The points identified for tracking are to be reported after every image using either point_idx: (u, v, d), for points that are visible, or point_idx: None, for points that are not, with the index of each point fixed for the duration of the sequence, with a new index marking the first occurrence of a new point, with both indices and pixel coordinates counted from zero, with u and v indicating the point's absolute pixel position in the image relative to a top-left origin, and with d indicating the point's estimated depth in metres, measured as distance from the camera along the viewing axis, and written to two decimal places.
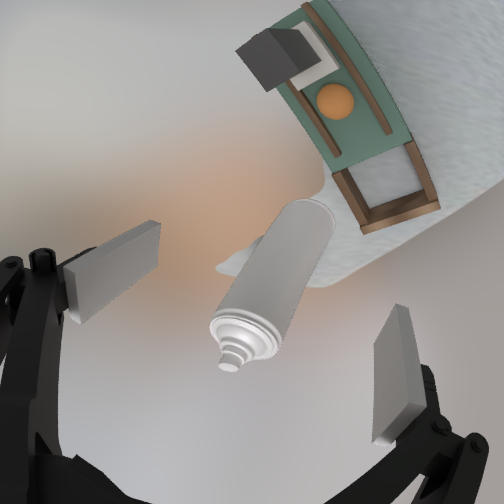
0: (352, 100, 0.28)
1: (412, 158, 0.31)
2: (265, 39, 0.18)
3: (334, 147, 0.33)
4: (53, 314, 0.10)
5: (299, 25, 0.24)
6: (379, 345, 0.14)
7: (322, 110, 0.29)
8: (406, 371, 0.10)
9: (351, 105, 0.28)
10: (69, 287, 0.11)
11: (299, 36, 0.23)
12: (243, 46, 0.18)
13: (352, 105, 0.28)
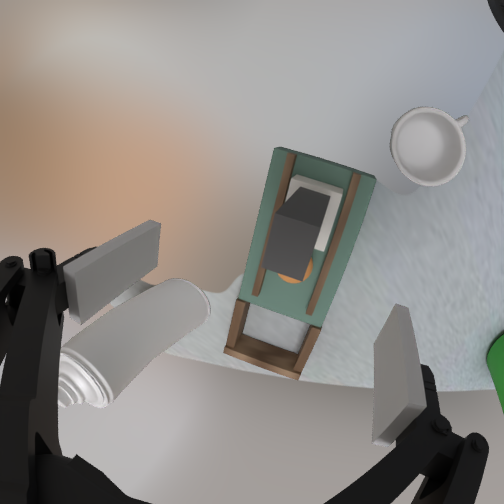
0: (307, 277, 0.32)
1: (308, 338, 0.38)
2: (308, 234, 0.19)
3: (258, 288, 0.36)
4: (53, 314, 0.10)
5: (335, 194, 0.28)
6: (379, 345, 0.14)
7: None
8: (406, 371, 0.10)
9: (303, 280, 0.32)
10: (69, 287, 0.11)
11: None
12: (285, 218, 0.20)
13: None
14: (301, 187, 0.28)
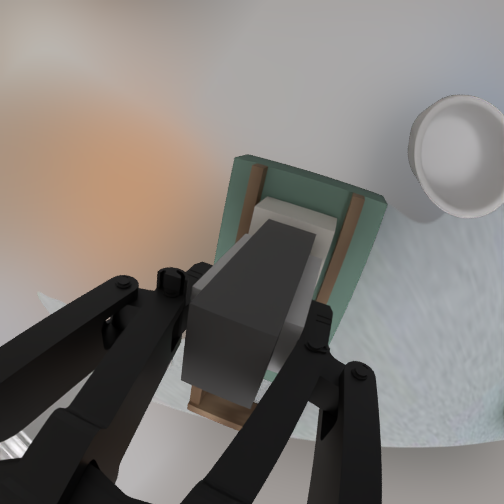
0: None
1: None
2: (254, 345, 0.10)
3: None
4: (167, 341, 0.10)
5: (323, 231, 0.18)
6: None
7: None
8: (293, 300, 0.13)
9: None
10: None
11: None
12: (209, 314, 0.10)
13: None
14: (270, 220, 0.18)
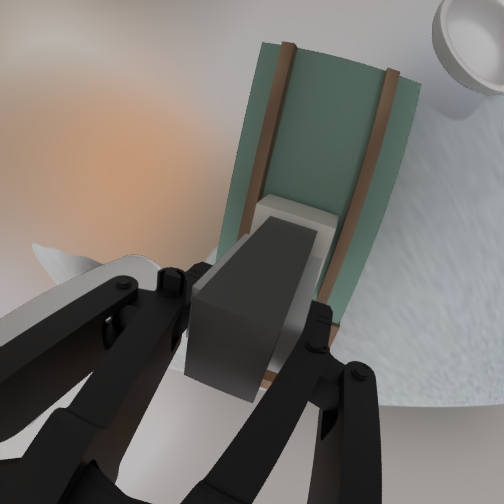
0: None
1: None
2: (257, 339, 0.10)
3: None
4: (166, 341, 0.10)
5: (324, 228, 0.18)
6: None
7: None
8: (293, 300, 0.13)
9: None
10: None
11: None
12: (213, 308, 0.10)
13: None
14: (271, 217, 0.18)
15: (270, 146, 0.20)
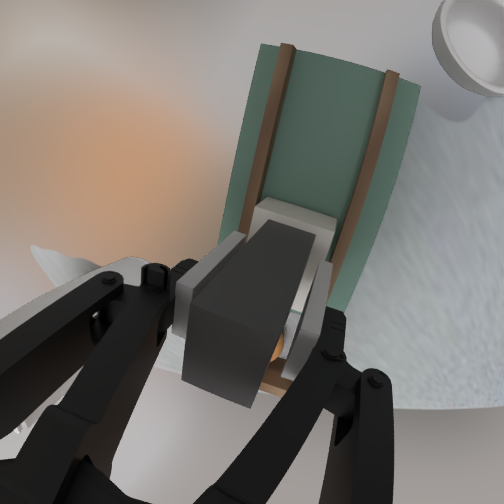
0: (277, 356, 0.27)
1: None
2: (254, 345, 0.10)
3: None
4: (152, 335, 0.10)
5: (323, 231, 0.18)
6: (306, 298, 0.17)
7: None
8: (308, 306, 0.12)
9: (272, 360, 0.27)
10: (181, 302, 0.12)
11: (307, 261, 0.17)
12: (209, 314, 0.10)
13: None
14: (270, 221, 0.18)
15: (269, 149, 0.19)
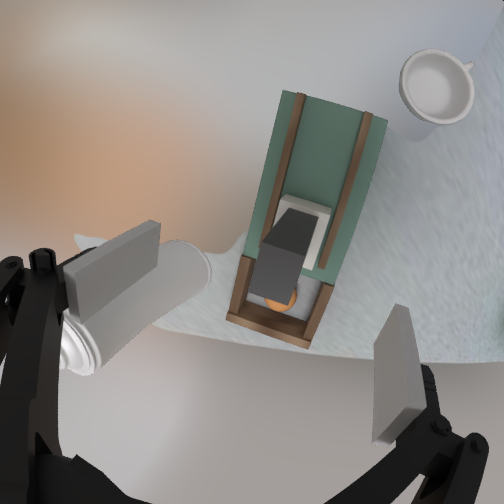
0: (292, 304, 0.37)
1: (320, 298, 0.35)
2: (293, 262, 0.20)
3: None
4: (53, 314, 0.10)
5: (323, 215, 0.29)
6: (379, 345, 0.14)
7: None
8: (406, 371, 0.10)
9: (289, 306, 0.37)
10: (69, 287, 0.11)
11: None
12: (271, 246, 0.20)
13: (289, 307, 0.37)
14: (290, 208, 0.29)
15: (288, 162, 0.30)
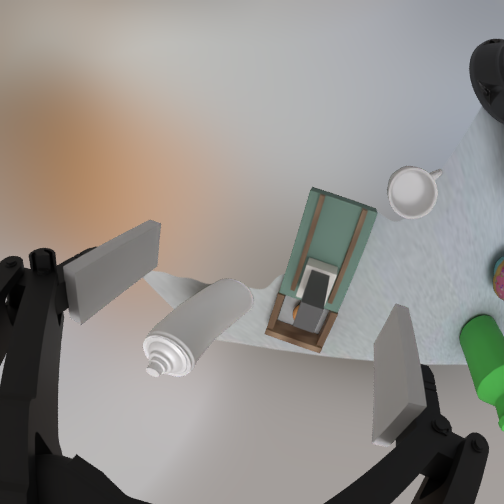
0: None
1: (328, 320, 0.53)
2: (317, 312, 0.39)
3: (295, 284, 0.52)
4: (53, 314, 0.10)
5: (332, 274, 0.47)
6: (379, 345, 0.14)
7: (297, 308, 0.55)
8: (406, 371, 0.10)
9: None
10: (69, 287, 0.11)
11: None
12: (306, 304, 0.39)
13: None
14: (312, 270, 0.47)
15: (311, 239, 0.48)
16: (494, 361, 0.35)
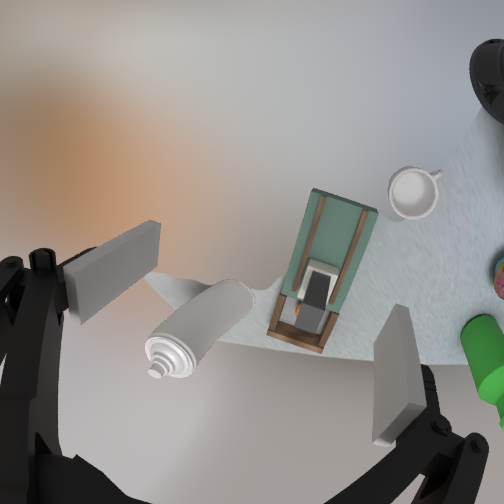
0: None
1: (329, 321, 0.53)
2: (318, 313, 0.39)
3: (296, 285, 0.52)
4: (53, 314, 0.10)
5: (333, 275, 0.47)
6: (379, 345, 0.14)
7: (301, 303, 0.55)
8: (406, 371, 0.10)
9: None
10: (69, 287, 0.11)
11: None
12: (308, 305, 0.39)
13: None
14: (313, 271, 0.47)
15: (312, 240, 0.49)
16: (495, 361, 0.35)
